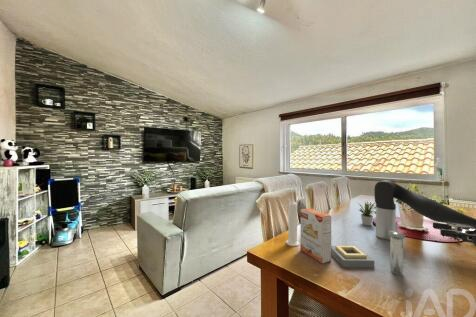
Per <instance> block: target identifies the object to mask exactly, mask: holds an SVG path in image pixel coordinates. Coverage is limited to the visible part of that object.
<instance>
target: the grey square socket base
mask: <svg viewBox="0 0 476 317" xmlns="http://www.w3.org/2000/svg"><path fill="white" fill-rule="evenodd" d="M331 257H333V258H334V259H335V260H336V261H337V262H338V263H339V264H340V265H341V267H343V268H371V269H372V268H373V269H374V268H375V260H374V259H373V258H372V257H370V256H369V255H368V254H366V253H365V251H363V250H361V249H360V248H359V247H357V246H355V245H335V246H334V245H333V246H332V245H331Z"/></svg>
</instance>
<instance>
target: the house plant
mask: <svg viewBox="0 0 476 317" xmlns="http://www.w3.org/2000/svg"><path fill="white" fill-rule="evenodd" d="M357 204H358V205H359V206H360V207H359V209H358V212H361V214H360V217H361V222H362V225H365V226H372V224H373V220H374V219H373V218H374V216H373V214H374V213H376V210H374V209H376V203H372V204H371V205H369V201H365V202H364V207H363V206H362V205H361V204H360V203H359V202H357Z"/></svg>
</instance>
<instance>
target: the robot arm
mask: <svg viewBox="0 0 476 317" xmlns="http://www.w3.org/2000/svg"><path fill="white" fill-rule="evenodd" d="M373 190H374V193H373V194H374V202H375V205H376V206H375V207H376V208H375V211H376V212H375V236H376V237H378V238H380V239H383V240H386V241H387V240H388V241H390V235H389V231H397V232H398V222H397V221H396V220H397V218H396V216H397V214H396V213H397V212H396V211H397V209H396V208H397V205H396V203H395V201H394V200H395V199H397V200H399V201H400V202H402V203H404V204H406V206H408V207H409V208H411V209H412V210H413V211H415V212H417V213H418V214H420V215H421V216H424V217H425V218H426V219H429V220H431V221H433V222H432V228H433V229H436V230H439V232H440V235H441V236H442V237H445V238H446V237H448V238H453V239H457V240H458V241H459V240H461V241H462V242H463V243H472V244H473V245H474V246H475V247H476V218H475V217H472V216H470V215H467V214H465V213H463V212H460V211H458V210H455V209H453V208H451V207H449V206H447V205H445V204H443V203H440V202H438V201H436V200H434V199H431V198H429V197H426V196H425V195H421V194H419V193H417V192H413V191H412V190H409V189H407V188H405V187H403V186H401V185H399V184H398V183H396V182H394V181H392V180H388V179H385V180H380V181H378V182H376V183H375V185H374V189H373Z"/></svg>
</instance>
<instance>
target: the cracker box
mask: <svg viewBox="0 0 476 317" xmlns="http://www.w3.org/2000/svg"><path fill="white" fill-rule="evenodd" d="M299 238H300V241H299V243H300V244H299V246H300V248H299V249H300V251H301V252H303V253H304V254H306V255H308V256H309V257H311V258H312V259H314V260H316V261H317V262H318V263H320V264H321V265H322V264H326V263H330V262H332V254H331V246H332V215H330V214H327V213H324V212H321V211H318V210H316V209H313V208H309V207H308V208H301V209H300V236H299Z"/></svg>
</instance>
